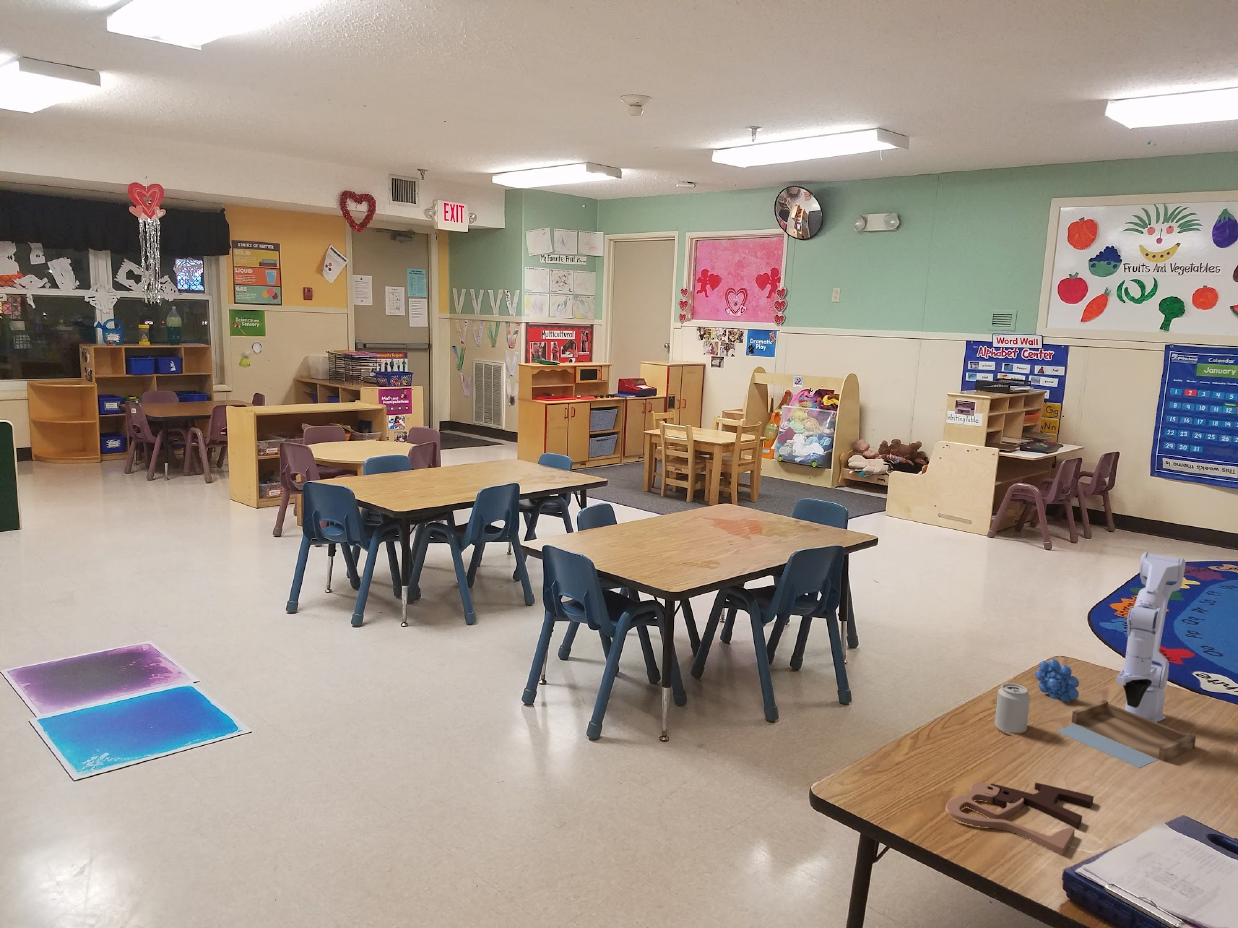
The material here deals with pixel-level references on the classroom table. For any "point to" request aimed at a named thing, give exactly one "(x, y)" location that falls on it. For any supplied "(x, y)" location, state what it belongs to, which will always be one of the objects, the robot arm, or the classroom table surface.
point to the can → (1012, 708)
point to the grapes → (1057, 680)
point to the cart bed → (1133, 730)
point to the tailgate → (1107, 745)
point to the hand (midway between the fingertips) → (1132, 705)
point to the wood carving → (1014, 802)
